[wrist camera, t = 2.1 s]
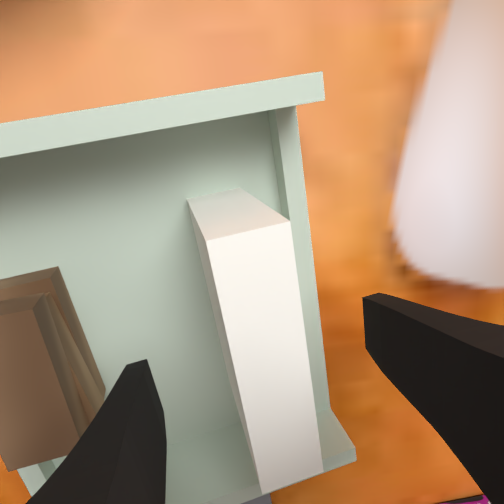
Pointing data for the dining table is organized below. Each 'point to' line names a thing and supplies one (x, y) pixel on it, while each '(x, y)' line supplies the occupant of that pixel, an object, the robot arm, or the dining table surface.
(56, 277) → the offcut bottom
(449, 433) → the robot arm
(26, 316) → the offcut top
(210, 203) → the white rectangular block
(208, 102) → the pale green tray
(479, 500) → the candy bar box
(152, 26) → the dining table surface
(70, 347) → the offcut middle
